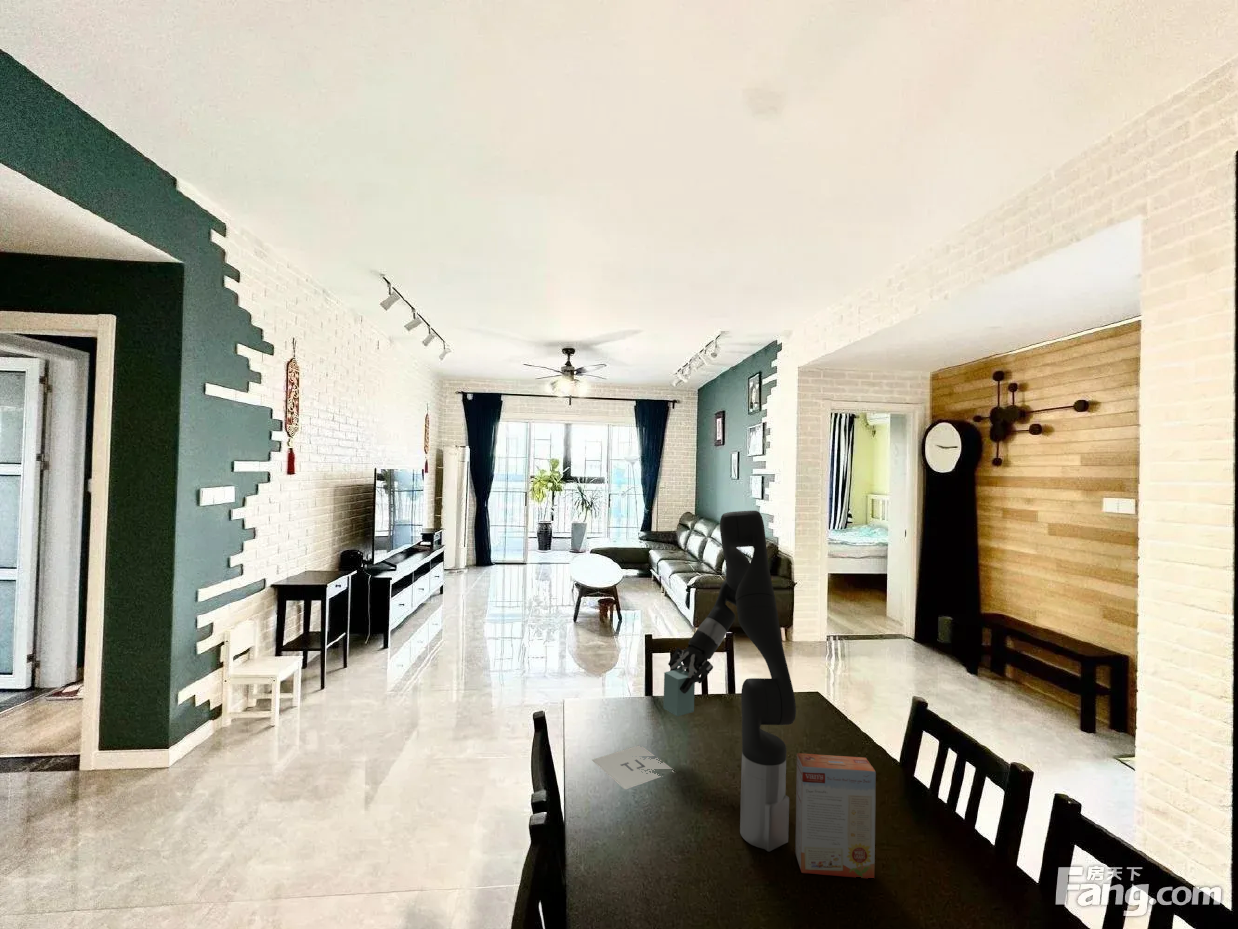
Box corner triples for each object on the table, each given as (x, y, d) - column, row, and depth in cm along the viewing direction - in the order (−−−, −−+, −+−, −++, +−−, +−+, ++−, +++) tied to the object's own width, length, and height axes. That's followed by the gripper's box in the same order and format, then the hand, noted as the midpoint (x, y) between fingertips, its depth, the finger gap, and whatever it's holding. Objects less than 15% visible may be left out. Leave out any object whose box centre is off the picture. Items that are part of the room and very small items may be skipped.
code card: (676, 771, 144) (676, 771, 144) (624, 790, 135) (624, 789, 135) (640, 745, 157) (640, 744, 157) (591, 760, 148) (591, 759, 148)
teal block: (694, 711, 154) (694, 675, 154) (677, 716, 150) (678, 679, 151) (680, 703, 159) (681, 668, 159) (663, 708, 156) (664, 672, 156)
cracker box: (864, 859, 113) (867, 756, 113) (875, 881, 107) (877, 772, 107) (793, 852, 114) (796, 750, 115) (800, 874, 108) (803, 766, 109)
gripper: (684, 623, 165) (651, 671, 158) (718, 636, 153) (684, 688, 146) (697, 639, 168) (665, 686, 161) (732, 653, 156) (698, 704, 149)
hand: (674, 687), depth 154 cm, fingers closed on teal block, 6 cm apart
